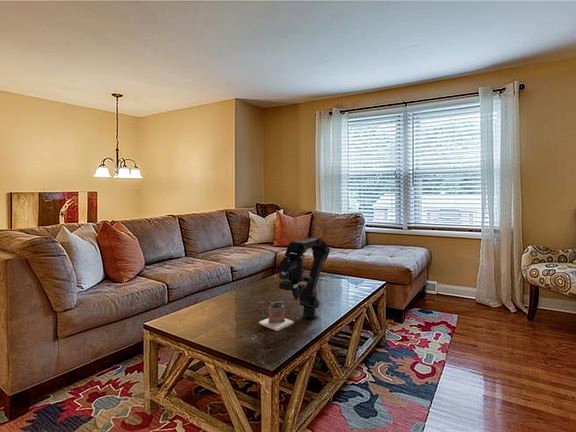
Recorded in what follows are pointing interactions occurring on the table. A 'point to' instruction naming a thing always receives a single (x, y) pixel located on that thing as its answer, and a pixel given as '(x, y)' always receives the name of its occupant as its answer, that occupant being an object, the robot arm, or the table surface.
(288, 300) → the table surface
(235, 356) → the table surface
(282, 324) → the coaster
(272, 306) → the lighter
